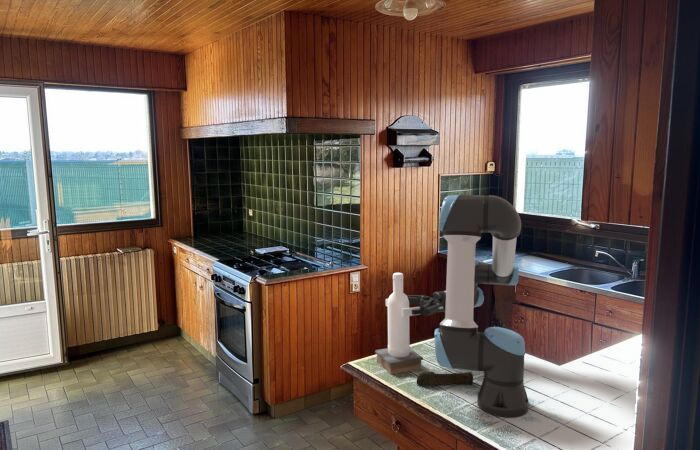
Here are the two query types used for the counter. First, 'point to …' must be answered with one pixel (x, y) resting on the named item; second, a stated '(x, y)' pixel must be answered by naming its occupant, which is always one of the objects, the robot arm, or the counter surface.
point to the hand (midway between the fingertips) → (393, 307)
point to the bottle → (398, 320)
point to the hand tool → (444, 378)
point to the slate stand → (398, 361)
